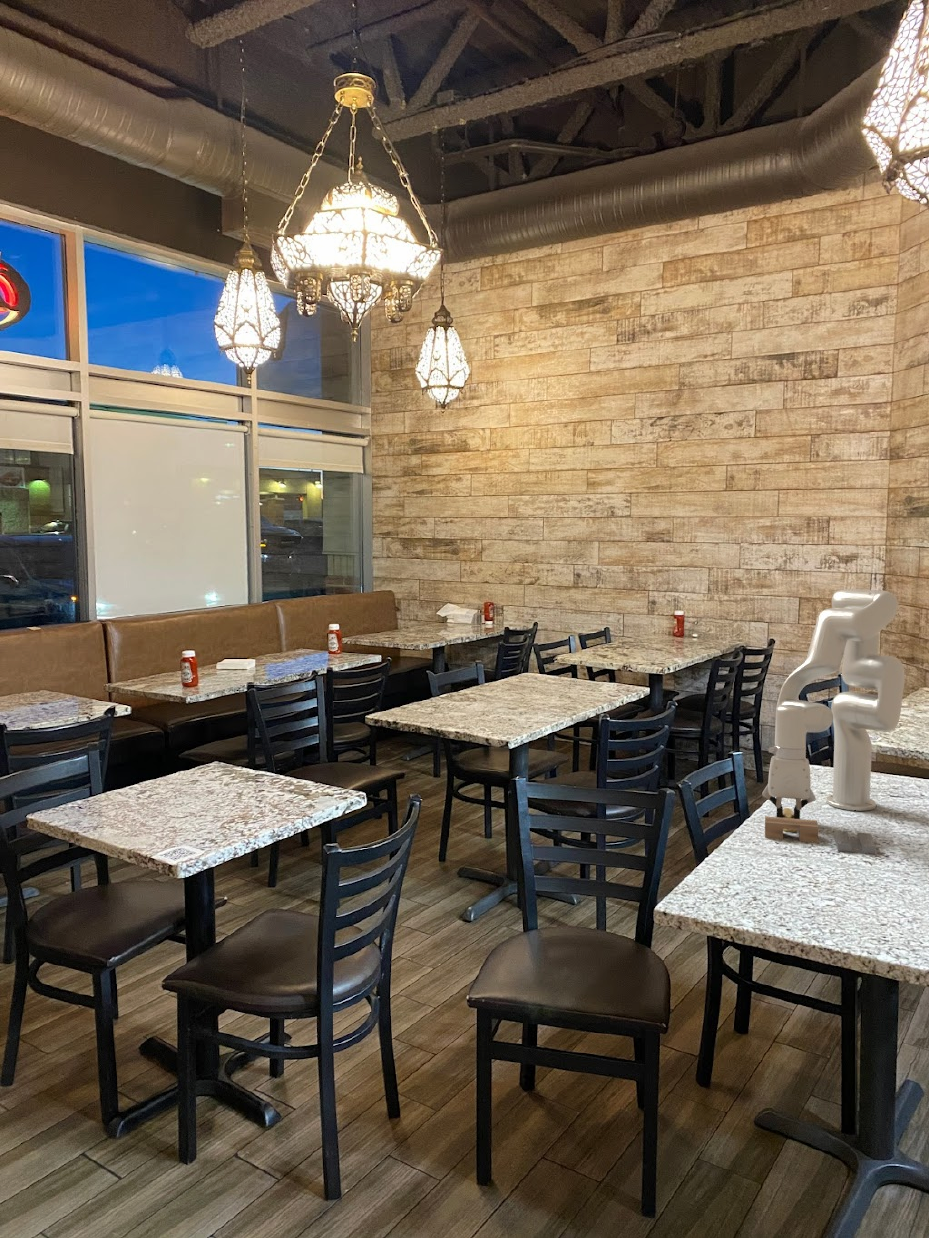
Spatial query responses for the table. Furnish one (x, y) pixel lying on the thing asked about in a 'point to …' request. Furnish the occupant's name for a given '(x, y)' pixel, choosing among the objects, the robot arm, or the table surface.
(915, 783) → the table surface
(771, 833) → the walnut beam
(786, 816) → the brass rod
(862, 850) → the iron V-block
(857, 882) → the table surface
